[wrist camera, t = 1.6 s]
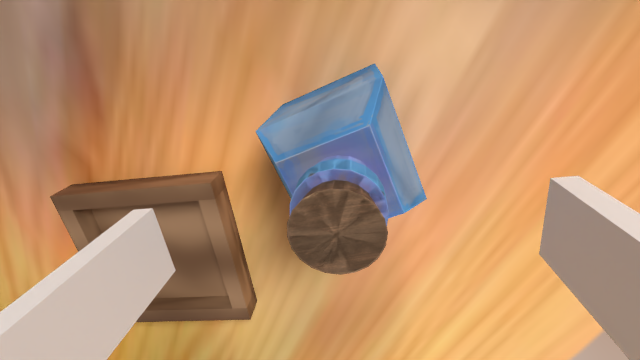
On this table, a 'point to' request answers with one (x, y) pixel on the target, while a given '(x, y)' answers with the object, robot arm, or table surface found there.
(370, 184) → the perfume bottle
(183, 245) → the walnut tray
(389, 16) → the table surface
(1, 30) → the table surface
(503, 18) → the table surface
